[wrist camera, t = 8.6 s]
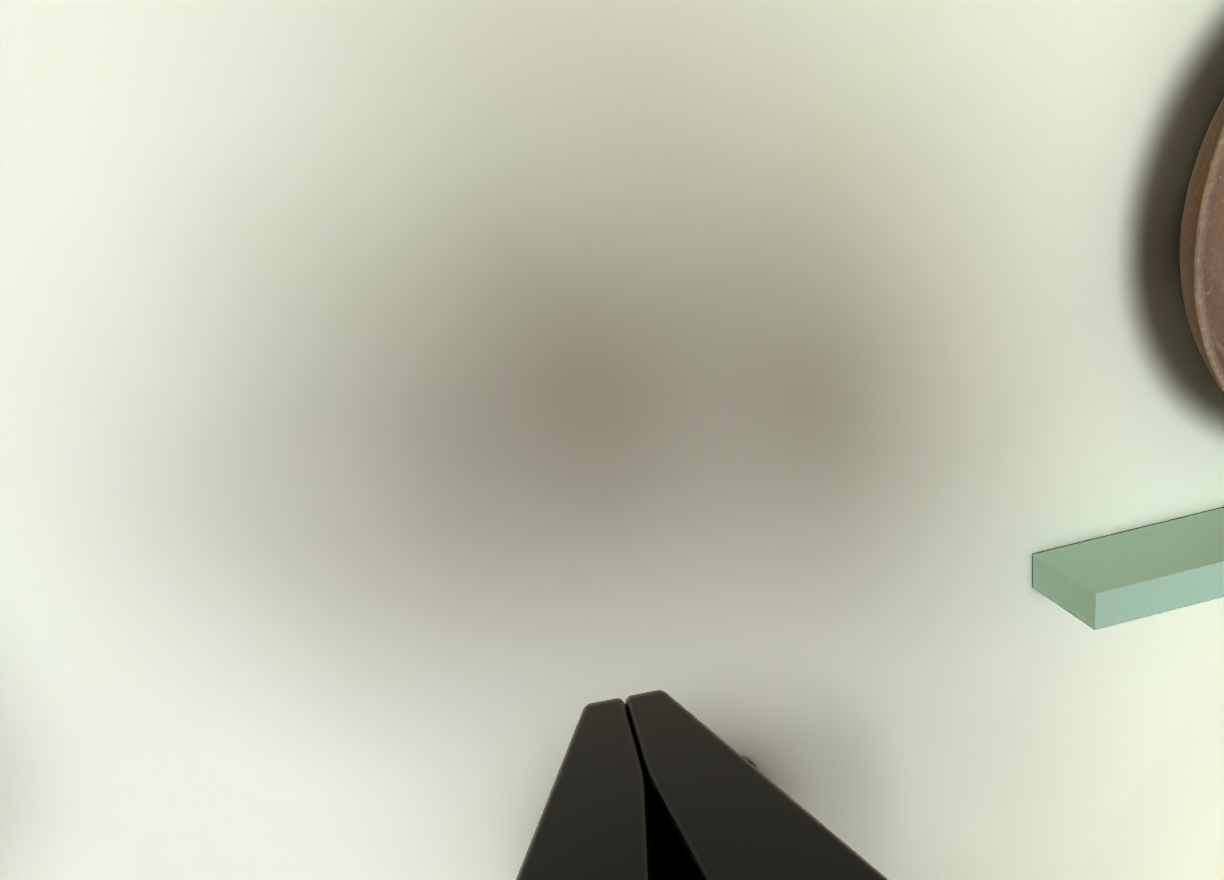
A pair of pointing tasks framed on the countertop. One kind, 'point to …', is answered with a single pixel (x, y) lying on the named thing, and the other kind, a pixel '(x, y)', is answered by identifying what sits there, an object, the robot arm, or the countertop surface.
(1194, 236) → the saucer
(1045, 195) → the countertop surface
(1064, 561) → the tray
